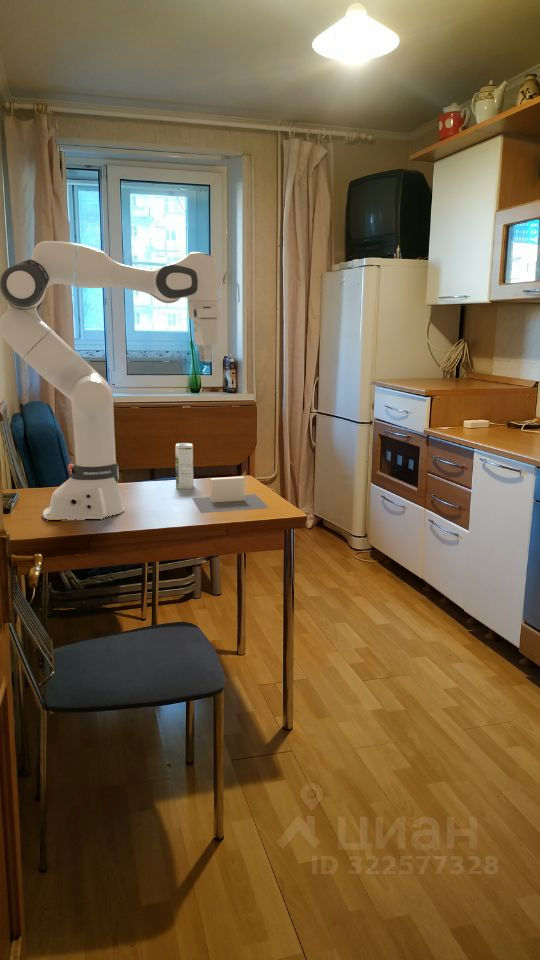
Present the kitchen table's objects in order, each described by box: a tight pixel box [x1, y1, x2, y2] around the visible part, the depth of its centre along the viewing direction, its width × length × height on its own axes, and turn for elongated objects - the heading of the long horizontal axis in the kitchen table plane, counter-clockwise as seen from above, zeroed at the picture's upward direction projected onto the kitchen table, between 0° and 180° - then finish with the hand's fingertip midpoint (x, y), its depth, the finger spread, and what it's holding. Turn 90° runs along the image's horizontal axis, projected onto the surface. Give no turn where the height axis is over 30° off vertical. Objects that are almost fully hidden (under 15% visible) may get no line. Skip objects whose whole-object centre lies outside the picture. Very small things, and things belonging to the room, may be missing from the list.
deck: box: [209, 476, 245, 502], centre depth 207 cm, size 10×2×7 cm, turn 104°
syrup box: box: [174, 442, 194, 490], centre depth 227 cm, size 6×6×14 cm
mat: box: [192, 493, 270, 514], centre depth 205 cm, size 20×18×1 cm
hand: (205, 361), depth 197 cm, fingers open, 8 cm apart
